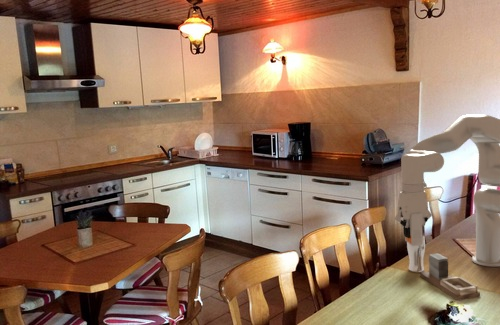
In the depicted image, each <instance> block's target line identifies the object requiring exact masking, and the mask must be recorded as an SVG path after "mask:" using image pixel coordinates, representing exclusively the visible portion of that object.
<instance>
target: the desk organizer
mask: <svg viewBox="0 0 500 325" xmlns="http://www.w3.org/2000/svg"><path fill="white" fill-rule="evenodd" d="M448 259H449V258H448V257H446V256H443V255H442V254H440V253H431V254H430V253H429V254H428V270H429V271H428V270H427V271H423V272H419V277H421V278H422V279H424V280H425V281H427V282H429V283H430V284H432V286H434V287H436V288H438V289H439V290H441V291H442V292H444V293H445V294H447V295H449V296H450V297H452V298H453V299H455V300H457V301H462V300H466V299H473V298H479V297H481V291H479V290H478V288H479V286H478V285H477V284H475V283H473V282H471V281H469V280H467V279H466V278H463V277H462V276H452V275H450V274H449V261H448Z"/></svg>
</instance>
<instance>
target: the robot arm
mask: <svg viewBox="0 0 500 325" xmlns="http://www.w3.org/2000/svg"><path fill="white" fill-rule="evenodd" d="M468 140H470V141H472V143H474V145H475V146H476V148H477V151H478V174H477V175H478V181H479V183H480V184H482V185H485V186H491V187H495V188H489V187H488V188H487V187H486V188H485V187H484V188H479V189H477V190H476V191H475V192H474V194H473V198H472V199H473V206H474V210H475V255H472V257H471V261H472V262H473V263H474V264H476V265H479V266H484V267H490V268H491V267H492V268H497V267H500V215H499V214H500V189H496V187H498V188H500V118H497V117H496V116H495V117H494V116H493V115H487V114H466V115H461V116H459V117H457V119H456V120H455V121H453V122H452V123H451V124H450V125H449V126H448V127H446V128H445V129H444V130H443V131H441V132H440V133H437V134H435V135H432V136H429V137H427V138H426V139H425V138H424V139H422V140H421V141H419V142H417V143H415V145H414V146H412V147H411V148H409V149H408V151H407V152H406V153H405V154H403V155H402V156H401V158H400V159H401V160H400V161H401V162H400V163H401V164H400V165H401V191H399V194H398V199H397V214H396V215H395V217H394V220H395V222H397V223H398V224H400V225H401V226H402V227H403V236H404V238H405V237H407V238H410V228H409V223H410V219H411V214H415V213H422V231H423V236H424V237H425V234H424V233H425V226H426V223H427V222H428V220H429V219H431V217H432V216H433V214H432V212H430V210H429V204H428V197H427V193H426V191H425V188H426V187H427V183H425V182H424V181H425V174H424V173H436V172H438V171H440V170H441V169H442V168H443V167H444V165H445V158H444V156H443V155H442V154H447V153H450V152H451V153H452V152H454V151H458V149H459V148H461V147H462V146H463V145H465V143H466V142H467V141H468Z"/></svg>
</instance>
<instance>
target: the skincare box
mask: <svg viewBox="0 0 500 325" xmlns="http://www.w3.org/2000/svg"><path fill="white" fill-rule="evenodd" d="M409 228H410V238H407V237H405V236H404V239H405V242H406V243H407V242H408V243H409V244H410V245H412V246H417V245H423V234H424V233H423V231H422V213H415V214H411V219H410V223H409Z"/></svg>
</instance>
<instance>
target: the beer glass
mask: <svg viewBox="0 0 500 325" xmlns="http://www.w3.org/2000/svg"><path fill="white" fill-rule="evenodd" d="M406 248H407V253H408V260H409V264H408V270H409V271H410V272H413V273H420V272H425V267H424V257H425V250H426V241H425V235H424V236H423V245H417V246H412V245H410V244H409V243H408V242H407V241H406Z"/></svg>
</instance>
